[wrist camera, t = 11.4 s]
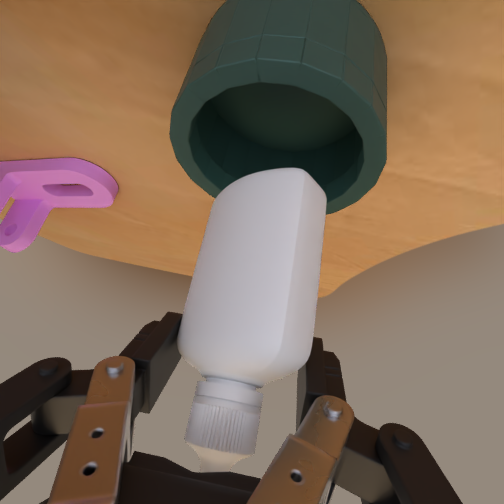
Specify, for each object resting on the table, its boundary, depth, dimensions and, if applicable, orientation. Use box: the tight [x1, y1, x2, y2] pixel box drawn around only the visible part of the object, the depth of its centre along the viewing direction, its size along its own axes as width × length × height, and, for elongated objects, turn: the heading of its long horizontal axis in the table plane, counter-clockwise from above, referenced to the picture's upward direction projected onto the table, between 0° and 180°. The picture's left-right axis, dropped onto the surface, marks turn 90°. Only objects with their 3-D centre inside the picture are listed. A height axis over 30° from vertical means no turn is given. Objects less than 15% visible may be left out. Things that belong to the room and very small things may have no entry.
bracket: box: [0, 158, 118, 253], centre depth 32 cm, size 13×6×7 cm, turn 104°
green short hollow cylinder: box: [169, 0, 387, 215], centre depth 18 cm, size 11×11×6 cm
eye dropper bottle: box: [177, 168, 327, 472], centre depth 13 cm, size 4×6×12 cm
